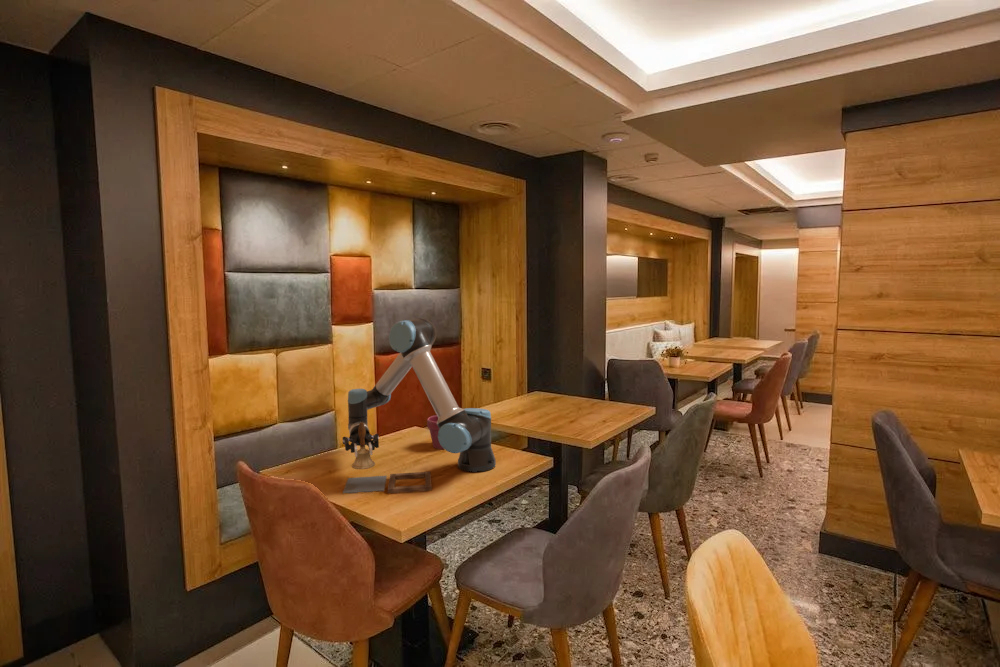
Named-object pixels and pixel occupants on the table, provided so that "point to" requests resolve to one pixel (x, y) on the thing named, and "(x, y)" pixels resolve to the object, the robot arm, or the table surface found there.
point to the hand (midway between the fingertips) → (363, 452)
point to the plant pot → (434, 431)
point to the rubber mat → (365, 484)
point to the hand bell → (362, 452)
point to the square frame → (408, 476)
